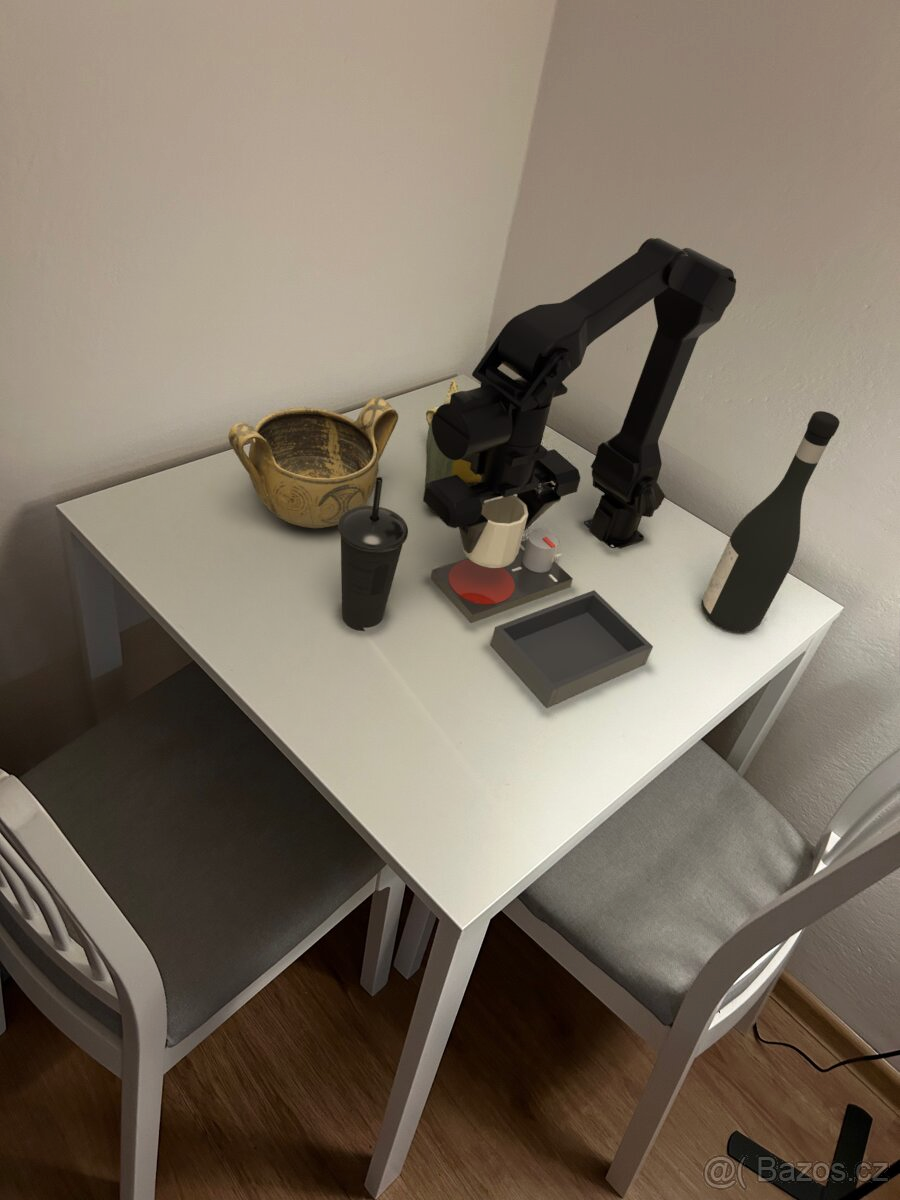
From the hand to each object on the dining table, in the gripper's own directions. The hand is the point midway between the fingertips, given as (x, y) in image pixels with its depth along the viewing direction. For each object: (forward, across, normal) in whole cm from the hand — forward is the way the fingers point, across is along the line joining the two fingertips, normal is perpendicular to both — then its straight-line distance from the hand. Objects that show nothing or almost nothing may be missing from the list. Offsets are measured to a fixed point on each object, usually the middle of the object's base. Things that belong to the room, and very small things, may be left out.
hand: (490, 543), depth 108 cm
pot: (+1, 0, 0) cm, 1 cm away
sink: (+8, -3, +14) cm, 16 cm away
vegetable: (+8, -3, -16) cm, 19 cm away
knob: (+6, -9, 0) cm, 11 cm away
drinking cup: (+8, +16, -2) cm, 18 cm away
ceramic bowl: (+8, +12, -24) cm, 27 cm away
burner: (+6, 0, 0) cm, 6 cm away
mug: (+8, -13, -26) cm, 30 cm away
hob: (+8, -3, 0) cm, 9 cm away
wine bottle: (+8, -28, +18) cm, 34 cm away
